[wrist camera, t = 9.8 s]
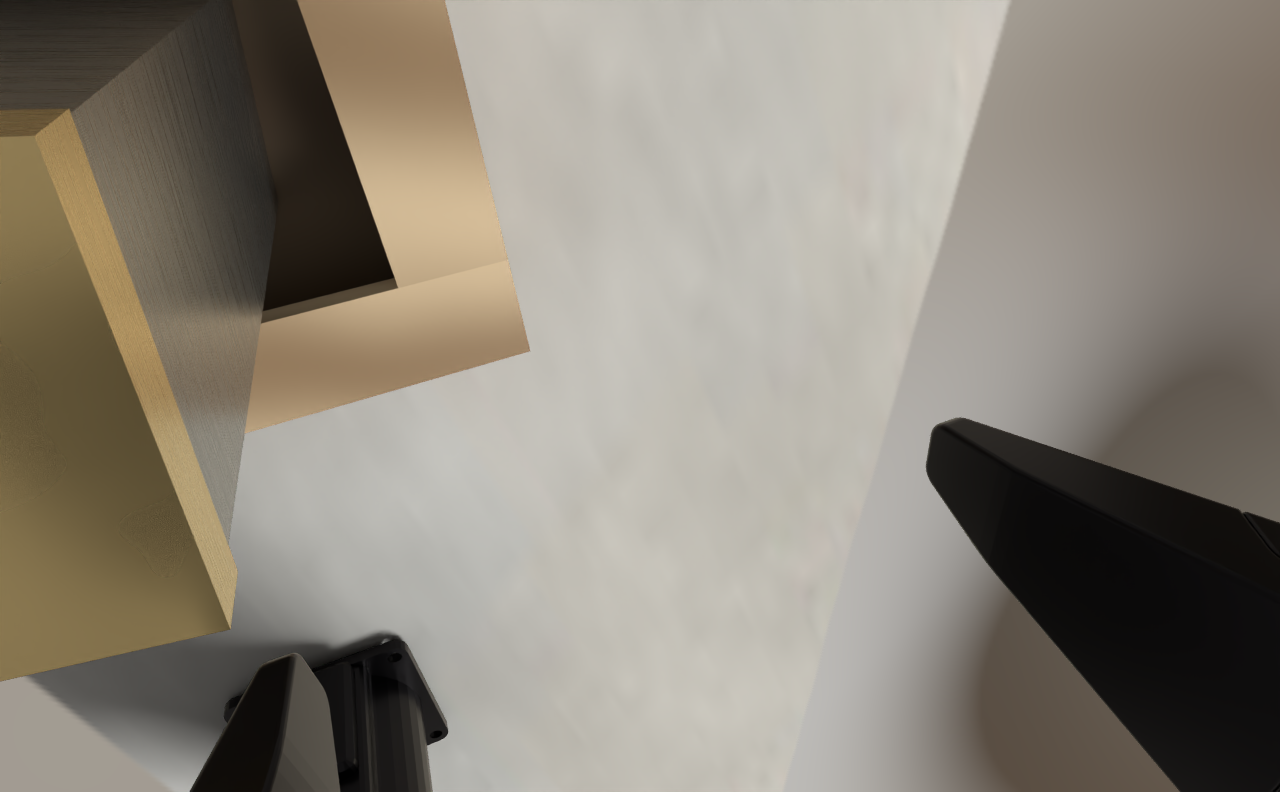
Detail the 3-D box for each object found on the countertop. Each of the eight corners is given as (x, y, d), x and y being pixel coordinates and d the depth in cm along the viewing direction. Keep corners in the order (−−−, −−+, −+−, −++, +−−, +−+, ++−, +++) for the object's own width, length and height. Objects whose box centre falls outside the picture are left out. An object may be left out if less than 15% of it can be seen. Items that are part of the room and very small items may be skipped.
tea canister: (284, 206, 17) (230, 629, 7) (49, 220, 16) (-443, 781, 6) (232, -21, 15) (33, 134, 5) (-54, -29, 13) (-1302, 176, 3)
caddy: (499, 285, 21) (530, 351, 18) (0, 418, 18) (-66, 522, 15) (339, -335, 13) (344, -411, 10) (-565, -272, 11) (-932, -348, 7)
